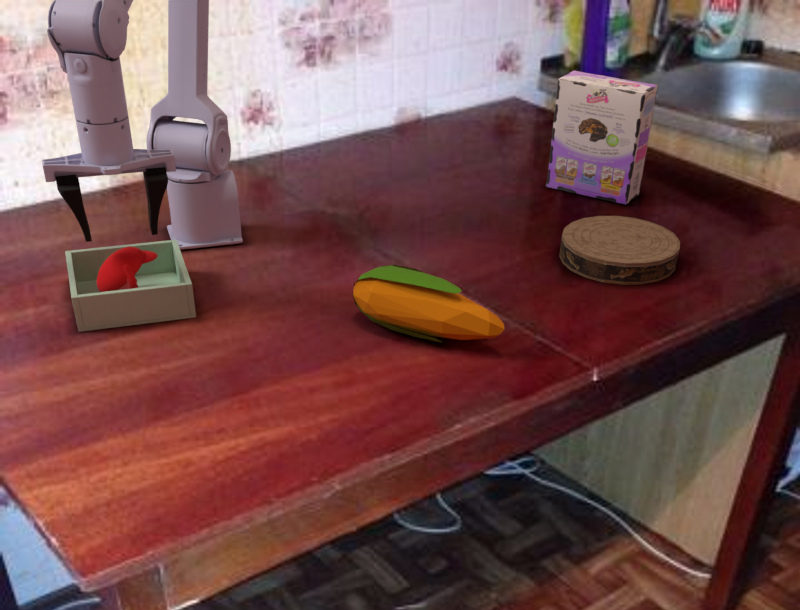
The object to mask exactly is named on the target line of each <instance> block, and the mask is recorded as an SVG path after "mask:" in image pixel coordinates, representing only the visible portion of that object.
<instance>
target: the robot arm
mask: <svg viewBox="0 0 800 610" xmlns="http://www.w3.org/2000/svg"><path fill="white" fill-rule="evenodd" d="M133 2H134V0H53V1H52V2H51V3H50V6H49V8H48V13H47V29H46V33H47V37H48V40H49V42H50V45H51V47H52V48H53V50H54V51H55V52H56V55H57V57H58V60H59V66H60V69H62V72H63V73H65V74H66V75H67V81H68V84H69V86H68V87H69V91H70V96H71V103H72V108H73V113H74V119H75V124H76V129H77V135H78V141H79V146H80V150H81V152H79V153H74V154H68V155H64V156H59V157H53V158H43V159H41V165H42V170H43V174H44V179H45V183H54V182H56V188H57V191H58V194H59V195H60V196H61V198H62V199H63V200H64V201H65V203H66V204H67V206H68V207H69V209H70V210H71V212H72V213H73V215H74V217H75V219H76V220H77V223H78V225H79V226H80V229H81V232H82V234H83V236H84V240H85V243H88V242H93V241H92V240H93V239H92V233H91V229H90V225H89V220H88V217H87V214H86V210H85V207H84V201H83V195H82V190H81V185H80V179H79V178H88V177H90V178H91V177H100V176H101V177H102V176H114V175H115V176H116V175H122V174H125V175H126V174H134V173H135V174H136V173H142V175H143V181H144V189H145V193H146V201H147V215H148V223H149V230H150V233H151V235H152V236H158V234H159V229H158V228H159V217H160V211H161V206H162V202H163V198H164V195H165V193H167V200H168V208H169V213H170V214H169V216H170V221H171V223H170V224H168V225H166V229H167V232H168V235H169V238H170V239H169V240H177V242H178V245H179V248H180V251H182V250H190V249H199V248H208V247H209V248H210V247H219V246H228V245H237V244H242V243H243V242H244V241H243V240H244V239H243V236H242V235H243V234H242V224H241V223H242V222H241V213H240V212H241V211H240V201H239V192H238V185H237V179H236V175H235V173H234V171H233V170H232V169H227V168H228V167H229V164H230V161H231V155H232V143H231V138H230V131H229V120H228V116H227V114H226V113H225V112H224V110H222V108H220V107H219V106H218V104H216V103H215V102H214V101H213V100H212V99H211V98H210V97H209V95H208V81H209V80H208V79H209V76H208V75H209V28H210V27H209V25H210V24H209V23H210V22H209V20H210V19H209V18H210V0H167V8H168V9H167V13H168V14H167V94H166V95H165V96H163V97H162V98H161V99H160V100H159V101H158V102H156V103H155V104H153V106H152V107H151V108H150V117H149V126H148V130H147V133H146V140H145V141H146V148H134V144H133V138H132V132H131V125H130V117H129V112H128V105H127V100H126V99H127V98H126V90H125V84H124V78H123V70H122V64H121V56H122V54H123V52H124V51H125V50H126V45H127V40H128V39H127V38H128V26H129V24H130V15H129V10H130V8H131V6H132V4H133ZM176 118H184V119H193V120H198V121H202V122H203V123H201V122H193V121H184V120H183V121H182V120H175V119H176Z"/></svg>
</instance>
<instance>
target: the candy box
mask: <svg viewBox="0 0 800 610" xmlns="http://www.w3.org/2000/svg"><path fill="white" fill-rule="evenodd" d="M556 85H557V86H556V87H557V88H556V95H555V97H556V98H555V107H554V115H553V122H552V132H551V142H550V150H549V151H550V152H549V162H548V168H547V169H548V170H547V177H546V184H545V187H546V188H550V189H554V190H558V191H563V192H567V193H571V194H577V195H580V196H585V197H589V198H595V199H598V200H602V201H607V202H612V203H616V204H620V205H621V204H622V205H625V206H626V205H628V204H629V203H630V202H632V200H634V199H635V198H637V197H639V195H640V191H641V184H642V180H643V173H644V168H645V162H646V156H647V151H648V145H649V139H650V133H651V127H652V123H653V122H652V121H653V116H654V109H655V104H656V98H657V93H658V84H654V83H648V82H643V81H642V82H641V81H635V80H630V79H624V78H618V77H613V76H608V75H607V76H606V75H602V74H596V73H589V72H585V71H578V70H572V71H569V72H568V73H566V74H564V75H563V76H561V77H559V78H558V79H557V84H556Z"/></svg>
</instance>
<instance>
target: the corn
mask: <svg viewBox="0 0 800 610" xmlns="http://www.w3.org/2000/svg"><path fill="white" fill-rule="evenodd" d="M462 291H463V289H462V288H460V287H458V286H457V285H456V284H454V283H452V282H450V281H448V280H446V279H444V278H441V277H439V276H435V275H432V274H430V273H426V272H423V271H421V270H419V269H417V268H413V267H408V266H404V265H403V266H402V265H398V264H389V265H381V266H378V267H375V268H373V269H370V270H369V271H366V272H364V273H362V274H360V276H359V277H358V279H357V280H356V281H355V282H354V284H353V292H352V297H353V301H354V305H355V306H356V307H357V309H359V311H360V313H362V314H363V315H364V316H365V317H367V318H368V319H369V320H370V321H371V322H373V323H375V324H378V325H380V326H382V327H384V328H387V329H388V330H390V331H394V332H397V333H400V334H405V335H408V336H411V337H415V338H418V339H424V340H427V341H431V342H436V343H437V342H438V343H443V344H444V342H443V341H442V340H440V339H438V338H445V339H451V340H459V341H468V340H470V341H471V340H485V339H488V340H489V339H495V338H496V337H499V336H500V335H501V334H503V332H504V331H505V323H504V322H503V321H502V320H501V318H500V317H499V316H498V315H496V314H495V313H493V312H492V311H490V310H489V309H487V308H485V307H484V306H482V305H481V304H479V303H477V302H475V301H473V300H471V299H470V298H468V297H467V296H465V295H463V294H460V293H461V292H462ZM437 337H438V338H437Z"/></svg>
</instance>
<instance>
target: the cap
mask: <svg viewBox="0 0 800 610" xmlns="http://www.w3.org/2000/svg"><path fill="white" fill-rule="evenodd" d="M157 257H158V255H157V254H156V253H154V252H152V251H144V250H140V249H139V248H136V247H125V248H122V249H119V250H117V251H116V252H114V253H113V254H111V255H110V256H109V257H108V258H107V259H106V260H105V261H104V263H103V264H102V266H101V268H100V270H99V272H98V276H97V287H98V290H99V291H100V292H106V291H115V290H124V289H132V288H138V285H137V279H136V278H135V276H134V275H135V274H136V273H137V272H138V270H139V269H140V267H141V265H142V264H144V263H148V262H151V261H153V260H155V259H156V258H157Z"/></svg>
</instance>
